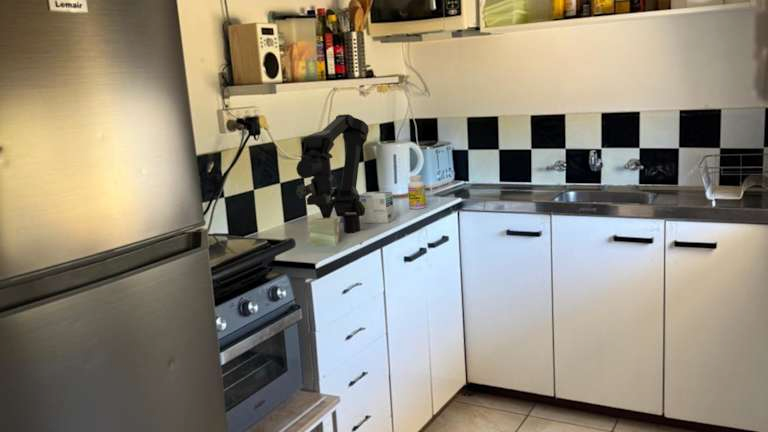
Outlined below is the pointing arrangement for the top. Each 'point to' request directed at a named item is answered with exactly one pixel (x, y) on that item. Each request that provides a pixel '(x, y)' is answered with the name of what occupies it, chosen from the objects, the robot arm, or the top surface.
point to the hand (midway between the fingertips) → (326, 222)
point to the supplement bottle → (416, 193)
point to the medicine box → (336, 215)
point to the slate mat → (320, 248)
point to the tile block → (324, 231)
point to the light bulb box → (377, 207)
